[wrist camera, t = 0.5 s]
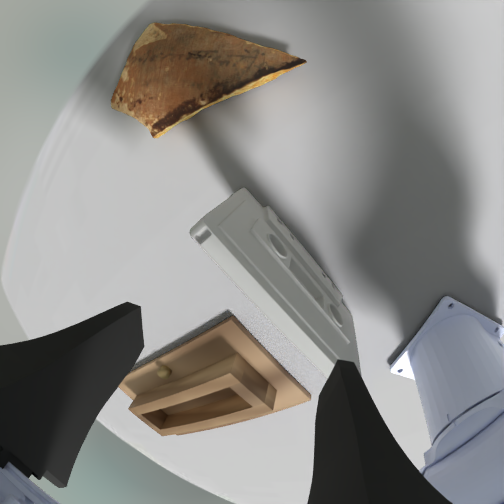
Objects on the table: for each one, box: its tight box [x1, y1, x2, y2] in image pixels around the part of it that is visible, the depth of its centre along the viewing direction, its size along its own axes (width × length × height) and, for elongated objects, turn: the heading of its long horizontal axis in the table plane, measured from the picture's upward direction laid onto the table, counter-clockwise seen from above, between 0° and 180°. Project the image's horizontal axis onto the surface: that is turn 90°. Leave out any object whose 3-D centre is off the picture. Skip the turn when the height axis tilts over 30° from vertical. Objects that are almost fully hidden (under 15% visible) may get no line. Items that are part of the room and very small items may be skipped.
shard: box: [111, 23, 307, 138], centre depth 14 cm, size 11×8×2 cm
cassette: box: [190, 187, 361, 379], centre depth 15 cm, size 12×2×8 cm, turn 42°
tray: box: [118, 316, 311, 436], centre depth 25 cm, size 11×20×3 cm, turn 130°
